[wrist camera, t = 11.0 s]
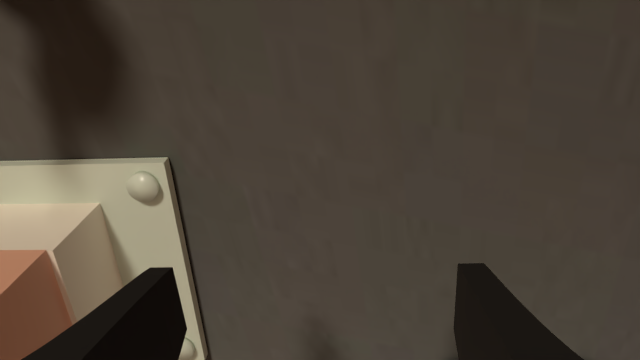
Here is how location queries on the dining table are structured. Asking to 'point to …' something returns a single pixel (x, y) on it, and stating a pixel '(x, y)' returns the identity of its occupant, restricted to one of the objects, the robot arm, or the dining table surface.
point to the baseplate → (120, 217)
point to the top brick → (29, 303)
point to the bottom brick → (67, 249)
